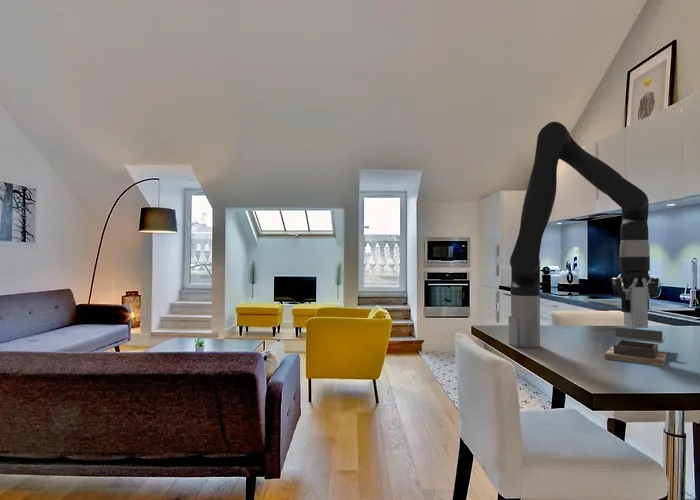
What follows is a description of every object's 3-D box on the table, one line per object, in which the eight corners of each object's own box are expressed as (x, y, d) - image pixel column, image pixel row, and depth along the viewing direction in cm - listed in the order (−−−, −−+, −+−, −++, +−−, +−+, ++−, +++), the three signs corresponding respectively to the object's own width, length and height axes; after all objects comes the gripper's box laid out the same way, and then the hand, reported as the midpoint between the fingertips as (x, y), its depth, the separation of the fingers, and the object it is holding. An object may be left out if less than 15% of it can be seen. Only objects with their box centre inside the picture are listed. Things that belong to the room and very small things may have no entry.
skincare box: (648, 328, 123) (648, 287, 123) (632, 328, 123) (631, 287, 124) (638, 325, 129) (638, 286, 129) (623, 324, 129) (622, 285, 130)
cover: (662, 343, 127) (662, 331, 127) (615, 338, 135) (615, 327, 135) (665, 337, 136) (664, 326, 136) (621, 333, 144) (621, 322, 144)
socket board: (663, 366, 116) (663, 351, 116) (604, 358, 125) (604, 345, 125) (666, 357, 127) (666, 343, 127) (612, 350, 136) (612, 338, 136)
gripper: (646, 255, 131) (647, 310, 130) (603, 255, 130) (604, 310, 129) (667, 255, 123) (667, 313, 123) (621, 255, 122) (621, 314, 122)
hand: (635, 311), depth 126 cm, fingers closed on skincare box, 5 cm apart
